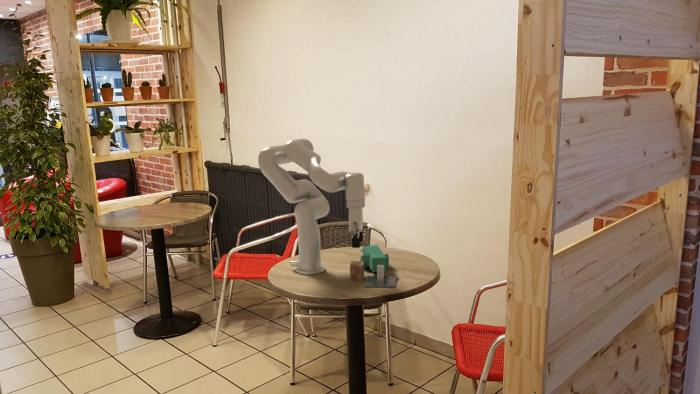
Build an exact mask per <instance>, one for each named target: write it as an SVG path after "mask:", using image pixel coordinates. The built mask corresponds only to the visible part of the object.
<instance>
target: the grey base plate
mask: <svg viewBox="0 0 700 394" xmlns="http://www.w3.org/2000/svg"><path fill="white" fill-rule="evenodd" d="M396 281H397V276H392V275H389V276H388V275H386V276H385V271H384V265H377V272H376V275H367V276H366V279H365V282H364V288H382V289H383V288H384V289H386V288H387V289H388V288H390V289H391V288H392V289H395V288H396V283H397V282H396Z"/></svg>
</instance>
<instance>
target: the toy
mask: <svg viewBox="0 0 700 394" xmlns="http://www.w3.org/2000/svg"><path fill="white" fill-rule="evenodd" d="M367 243H368V244H364V245H363V246H362V249H360V250H359V252H362V255H361V256H360V259H359V261H364V269H370V270H371V271H372V273H377V265H384V272H387V267H388V266H389V262H390V256H389V254H388V253H384V252H383V250H382V249H381V248H380V247H379V246H378V244H376V245H375V244H374V245H370V241H368V242H367Z"/></svg>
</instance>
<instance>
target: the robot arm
mask: <svg viewBox="0 0 700 394" xmlns="http://www.w3.org/2000/svg"><path fill="white" fill-rule="evenodd" d="M257 157H258V158H257V161H258V162H257V163H258V167H259V170H260V172H261V173H262V174H263V176H264V177H265V178H266V179H267V180H269V182H270V183H271V184H272V185H273V187H275V189H276V190H277V191H278V193H280V195H281V196H282V197H283V199H284V200H286V202H287V203H289V204H296V203H297V204H296V205H295V208H294V217H295V221H296V226H297V227H296V228H297V240H298V242H297V244H298V245H297V246H298V259H297V260H296V261H295V260H290V261H289V265H290V266H291V267H296V268H295V272H296V273H297V274H299V275H306V276H307V275H318V274H321V273H323V272H324V271H325V269H326V267H325V265H323V264H322V255H321V254H322V252H321V235H320V234H321V233H320V227H319V225H318V221H317V220H319V219H321V218H324V217H326V216H328V214H329V213H330V209H331V208H330V204H329V201H328V199H327V198H326V197H325V195H324V194H323V193H322V192H321V191H320V190H319V189H321V190H322V191H324V192H326V193H336V192H339V191H344V190H345V199H346V201H345V202H346V208H347V209H348V232H349V233H351V248H352V249H353V248H354V249H359V248H361V242H363V241H364V239H363V237H364V236H363V226H364V217H363V216H364V215H363V214H364V213H363V209H364V208H365V207H366V202H365V201H366V199H365V197H366V196H365V178H364V177H365V176H364V174H363V173H361V172H348V171H337V172H333V173H329V172H327V170H324V169H323V168H322V167H321V166H320V164H321V160H322V159H321V158H322V157H321V156H320V155H319V154H318V153H316V151H314V144H313V143H312V142H311V141H310V140H309V139H307V138H299V139H290V140H288V141H287V142H285V144H279V145H273V146H267V147H265V148H262V150H261V151H260V152H259V153H258V156H257ZM290 163H295V164H296V165H297V166H298V167H300V168H301V169H303V170H304V171H306V173H307V175H308V177H309V179H310V180H309V179H305V178H304V179H295V178H294V177H293V176H292V175H291V174H290V173H289V172H288V171H287V170H286V169H284V168H283V167H282V166H280V165H284V164H285V165H286V164H290ZM317 187H318V188H319V189H318V188H317Z"/></svg>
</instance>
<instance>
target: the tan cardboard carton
mask: <svg viewBox="0 0 700 394" xmlns="http://www.w3.org/2000/svg"><path fill="white" fill-rule="evenodd" d="M349 273H350V275H349V277H350V282H364V278H365V268H364V261H360V260H351V261H350V264H349Z"/></svg>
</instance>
